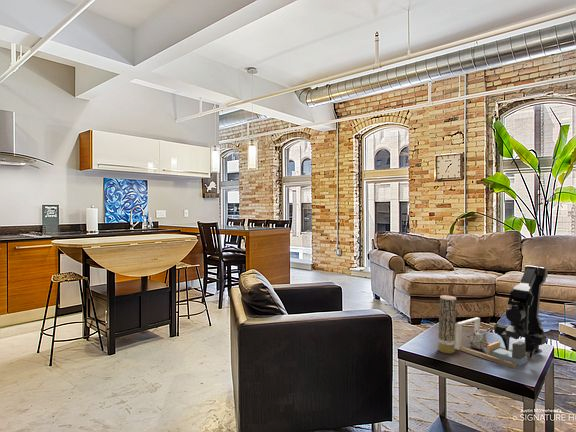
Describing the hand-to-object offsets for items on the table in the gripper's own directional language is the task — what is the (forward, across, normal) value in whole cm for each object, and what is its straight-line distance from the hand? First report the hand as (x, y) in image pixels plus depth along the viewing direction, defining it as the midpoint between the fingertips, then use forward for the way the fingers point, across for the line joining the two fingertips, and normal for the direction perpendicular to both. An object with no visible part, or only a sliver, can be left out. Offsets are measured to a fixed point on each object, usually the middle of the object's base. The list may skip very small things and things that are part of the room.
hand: (518, 354), depth 162 cm
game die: (+4, -18, 0) cm, 18 cm away
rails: (+4, -10, 0) cm, 10 cm away
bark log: (+4, -24, -16) cm, 29 cm away
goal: (+4, -22, 0) cm, 23 cm away
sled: (+4, -4, 0) cm, 6 cm away
